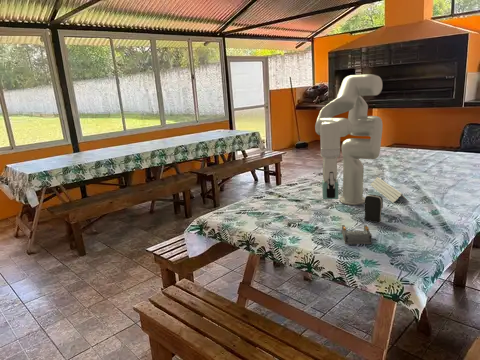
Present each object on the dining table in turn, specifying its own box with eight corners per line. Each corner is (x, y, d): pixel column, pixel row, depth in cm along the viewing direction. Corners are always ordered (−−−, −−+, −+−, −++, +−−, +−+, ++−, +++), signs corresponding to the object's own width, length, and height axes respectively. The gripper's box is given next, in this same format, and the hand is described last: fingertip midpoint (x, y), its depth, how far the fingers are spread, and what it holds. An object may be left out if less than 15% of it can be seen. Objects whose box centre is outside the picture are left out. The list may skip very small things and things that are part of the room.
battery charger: (383, 220, 152) (384, 195, 149) (379, 223, 149) (380, 197, 146) (367, 217, 157) (368, 192, 154) (363, 220, 154) (364, 195, 151)
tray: (341, 232, 143) (341, 224, 142) (366, 232, 142) (366, 224, 140) (345, 243, 134) (345, 234, 133) (371, 244, 132) (371, 234, 131)
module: (322, 195, 149) (322, 179, 147) (337, 195, 148) (337, 178, 146) (323, 199, 145) (323, 182, 143) (338, 199, 144) (338, 181, 142)
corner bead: (410, 203, 172) (411, 193, 171) (392, 204, 172) (392, 194, 171) (384, 184, 202) (385, 176, 200) (369, 185, 202) (369, 177, 200)
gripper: (319, 148, 149) (319, 189, 155) (322, 157, 133) (322, 203, 139) (337, 147, 148) (337, 188, 154) (342, 157, 132) (342, 202, 138)
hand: (330, 195), depth 146 cm, fingers closed on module, 4 cm apart
